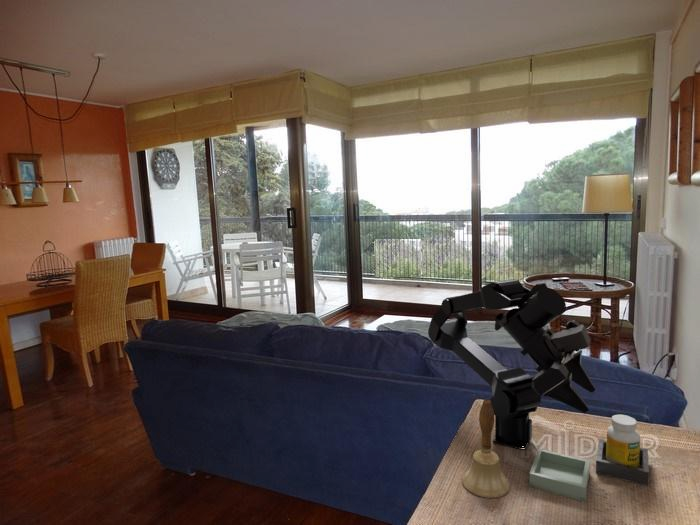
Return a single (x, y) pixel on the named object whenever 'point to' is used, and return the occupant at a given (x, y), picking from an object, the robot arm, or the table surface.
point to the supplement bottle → (623, 441)
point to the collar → (623, 466)
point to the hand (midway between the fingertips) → (590, 400)
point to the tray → (560, 474)
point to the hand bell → (486, 462)
